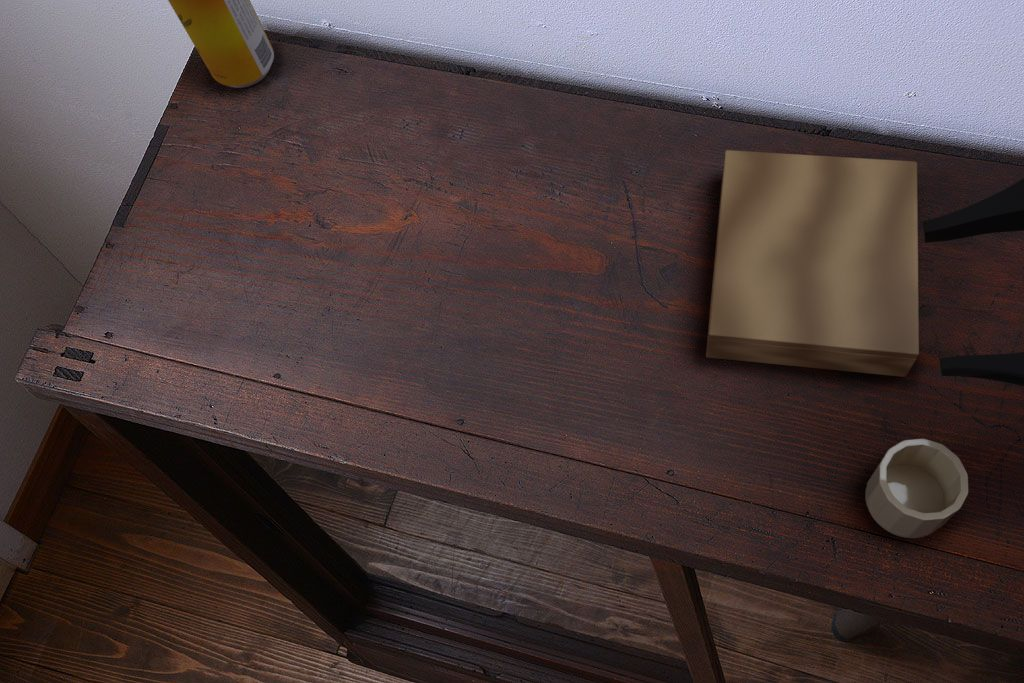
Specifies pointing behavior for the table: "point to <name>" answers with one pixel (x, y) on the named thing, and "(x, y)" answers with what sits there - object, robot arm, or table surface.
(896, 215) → the square wooden board
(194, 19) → the beer can
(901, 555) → the table surface
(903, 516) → the ramekin
